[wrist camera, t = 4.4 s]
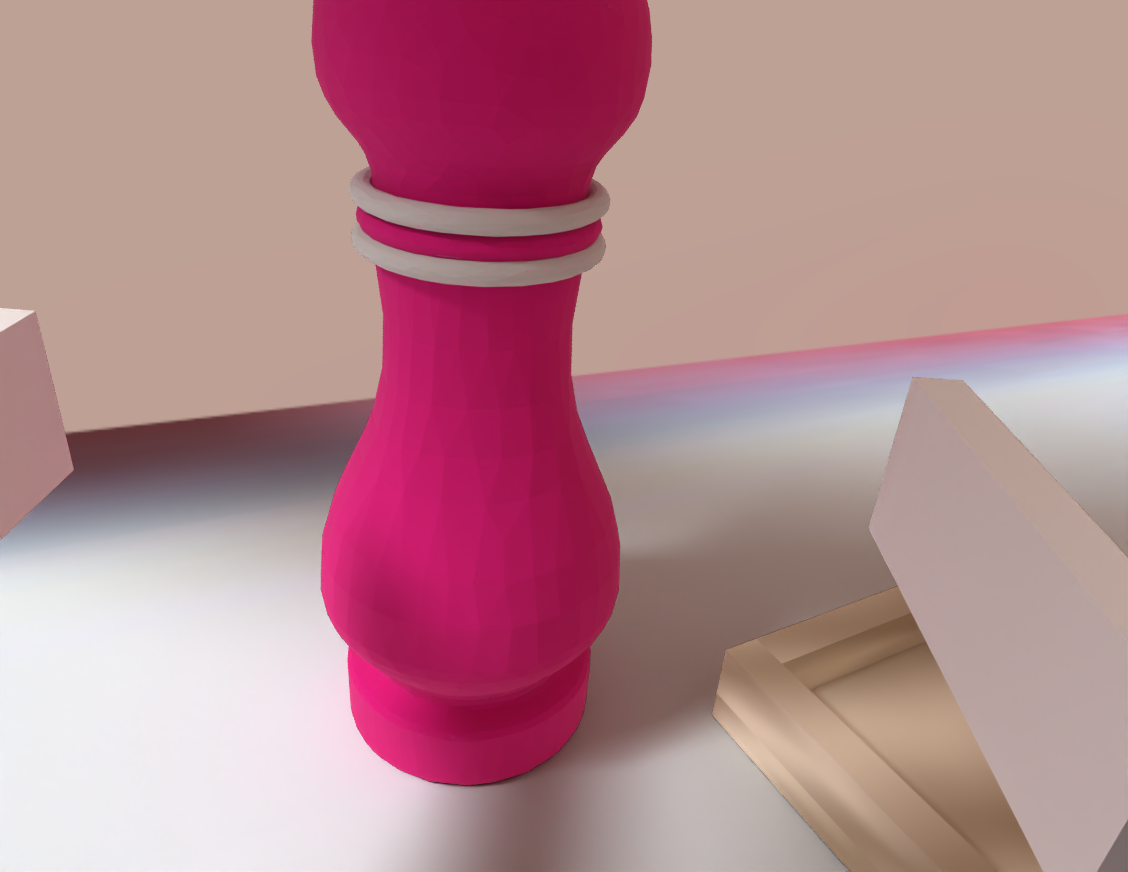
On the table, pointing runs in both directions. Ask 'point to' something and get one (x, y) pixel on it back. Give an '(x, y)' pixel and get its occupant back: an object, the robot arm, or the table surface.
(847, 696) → the base
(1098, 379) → the table surface
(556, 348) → the pepper mill
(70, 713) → the table surface
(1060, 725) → the robot arm
